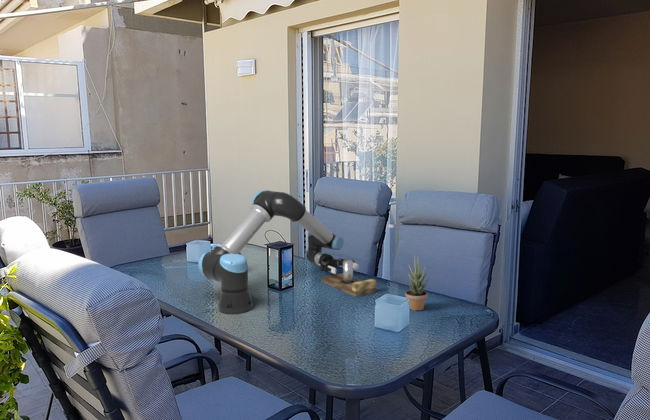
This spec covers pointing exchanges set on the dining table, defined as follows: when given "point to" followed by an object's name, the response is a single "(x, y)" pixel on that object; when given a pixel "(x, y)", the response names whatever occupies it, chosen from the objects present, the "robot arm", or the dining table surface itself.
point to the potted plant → (417, 288)
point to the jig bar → (351, 285)
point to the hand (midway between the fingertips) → (347, 269)
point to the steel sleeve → (347, 271)
